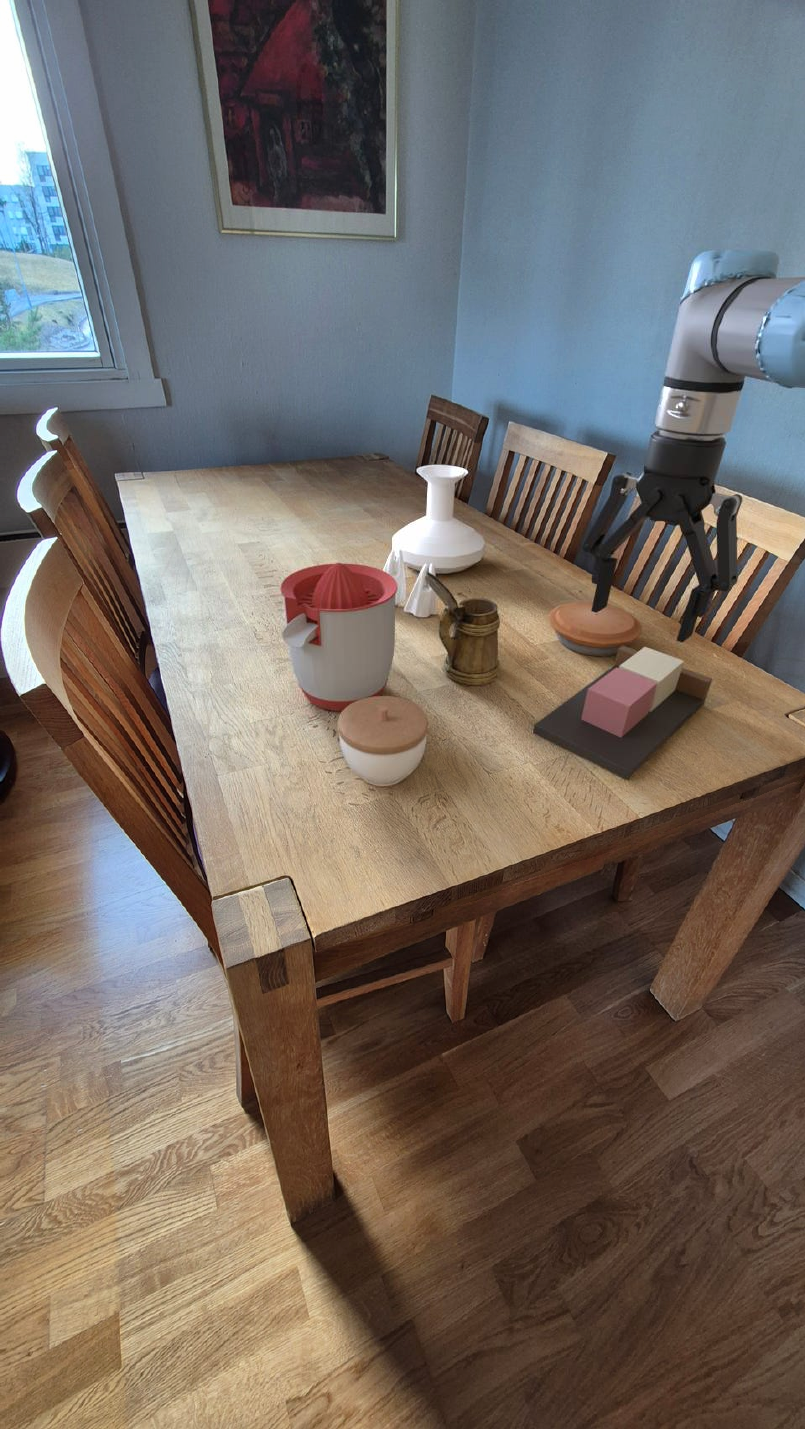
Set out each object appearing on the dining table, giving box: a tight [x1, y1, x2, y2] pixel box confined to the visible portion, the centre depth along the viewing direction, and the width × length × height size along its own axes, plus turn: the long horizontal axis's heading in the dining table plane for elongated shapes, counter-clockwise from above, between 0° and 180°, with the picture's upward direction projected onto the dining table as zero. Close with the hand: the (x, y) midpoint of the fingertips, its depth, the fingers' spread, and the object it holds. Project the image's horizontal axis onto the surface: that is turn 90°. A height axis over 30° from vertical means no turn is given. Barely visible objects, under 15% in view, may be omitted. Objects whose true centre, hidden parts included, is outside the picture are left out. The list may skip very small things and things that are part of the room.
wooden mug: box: [425, 572, 501, 687], centre depth 93 cm, size 9×14×18 cm, turn 118°
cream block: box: [619, 646, 685, 712], centre depth 90 cm, size 6×8×5 cm
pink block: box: [581, 668, 657, 738], centre depth 85 cm, size 6×8×5 cm
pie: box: [548, 600, 643, 657], centre depth 107 cm, size 15×16×5 cm
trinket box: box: [337, 695, 429, 787], centre depth 76 cm, size 11×11×9 cm
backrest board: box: [532, 646, 713, 781], centre depth 88 cm, size 14×24×4 cm, turn 137°
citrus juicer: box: [279, 562, 398, 712], centre depth 87 cm, size 16×17×20 cm
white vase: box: [392, 464, 486, 574], centre depth 131 cm, size 20×20×19 cm
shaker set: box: [382, 549, 438, 618], centre depth 114 cm, size 12×4×11 cm, turn 60°
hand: (639, 622), depth 78 cm, fingers open, 11 cm apart
